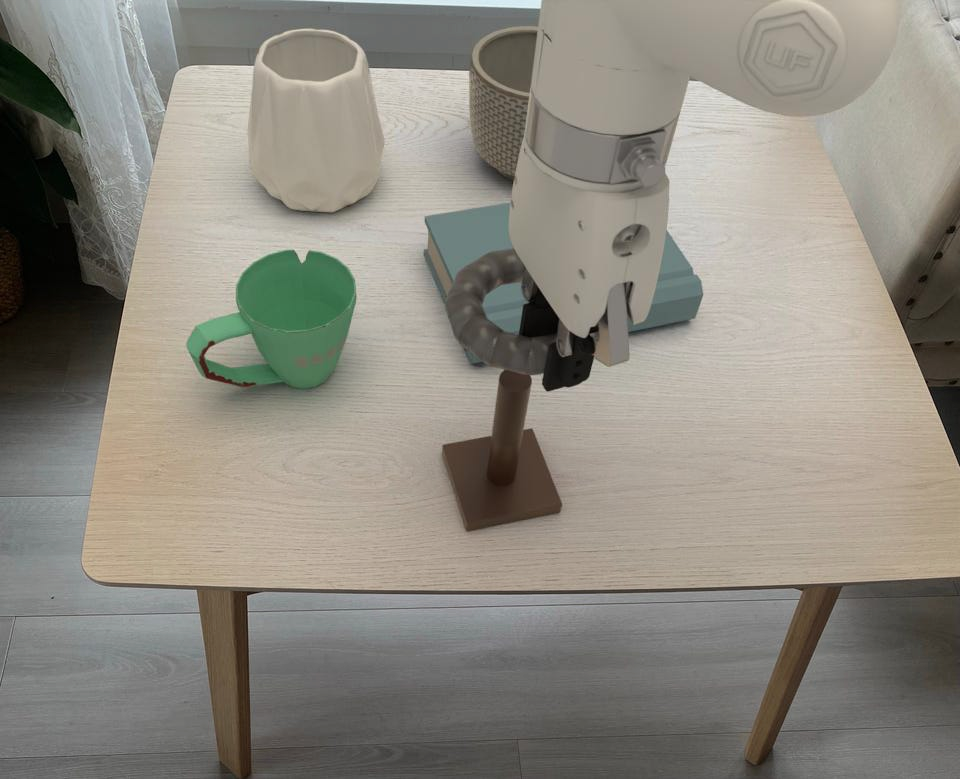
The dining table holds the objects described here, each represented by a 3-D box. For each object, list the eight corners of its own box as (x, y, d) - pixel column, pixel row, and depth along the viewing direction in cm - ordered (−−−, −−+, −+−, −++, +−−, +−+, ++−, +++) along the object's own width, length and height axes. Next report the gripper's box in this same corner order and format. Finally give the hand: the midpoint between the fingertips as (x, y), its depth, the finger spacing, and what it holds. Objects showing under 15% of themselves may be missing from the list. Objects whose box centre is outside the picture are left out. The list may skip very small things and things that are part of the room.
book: (625, 220, 102) (634, 182, 98) (693, 324, 93) (705, 287, 89) (423, 254, 96) (424, 216, 93) (472, 369, 87) (476, 332, 83)
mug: (325, 314, 90) (319, 234, 82) (380, 381, 85) (378, 302, 78) (179, 376, 84) (158, 296, 76) (229, 452, 79) (211, 374, 71)
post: (531, 436, 82) (550, 331, 72) (560, 512, 78) (585, 411, 67) (441, 452, 81) (448, 347, 70) (466, 531, 76) (477, 431, 66)
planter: (606, 189, 105) (628, 86, 95) (491, 214, 101) (502, 109, 91) (553, 119, 113) (568, 17, 103) (444, 139, 109) (449, 35, 99)
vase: (378, 229, 98) (377, 101, 87) (241, 219, 98) (221, 89, 86) (390, 147, 107) (390, 22, 96) (264, 138, 107) (249, 11, 95)
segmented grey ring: (574, 258, 69) (579, 232, 67) (627, 367, 62) (634, 342, 61) (430, 277, 67) (431, 251, 65) (469, 393, 60) (472, 368, 58)
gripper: (751, 206, 45) (664, 440, 59) (590, 31, 54) (548, 269, 68) (612, 241, 42) (556, 476, 56) (469, 51, 52) (451, 293, 66)
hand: (552, 361), depth 62 cm, fingers closed on segmented grey ring, 2 cm apart
